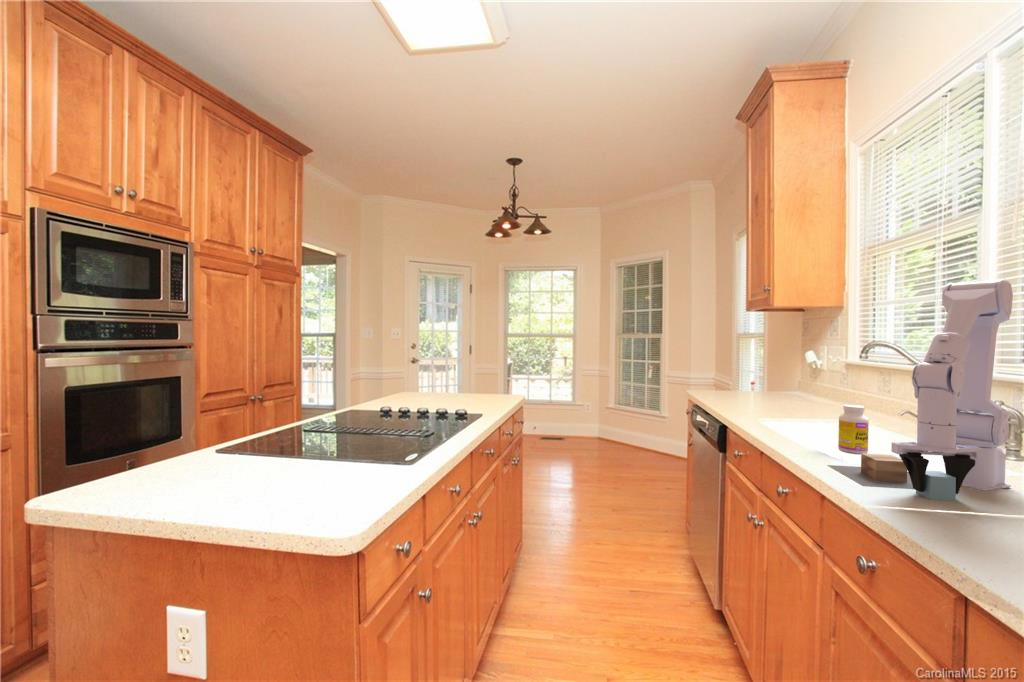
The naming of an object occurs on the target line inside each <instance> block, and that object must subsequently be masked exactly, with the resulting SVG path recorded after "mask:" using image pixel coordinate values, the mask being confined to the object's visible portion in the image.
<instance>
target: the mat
mask: <svg viewBox="0 0 1024 682" xmlns="http://www.w3.org/2000/svg"><path fill="white" fill-rule="evenodd" d="M826 466H828V467H829V468H831V469H833V470H834V471H836V472H838V473H840V474H842V475H843V476H845V477H847V478H848V479H850V480H852V481H853V482H855V483H857V484H859V485H860V486H862V487H871V488H872V487H873V488H888V489H891V488H892V489H906V490H914V489H913V485H912V481H911V478H910V475H909V473H908V471H907V482H900V481H882V480H875V479H873V478H871V477H869V476H867V475H865V474H863V473H861V466H855V465H854V466H851V465H830V464H827V465H826Z"/></svg>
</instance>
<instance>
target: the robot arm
mask: <svg viewBox="0 0 1024 682" xmlns="http://www.w3.org/2000/svg"><path fill="white" fill-rule="evenodd" d="M1013 296H1014V294H1013V287H1012V285H1011V282H1009V281H1008V280H1007V279H1005V278H1002V279H1001V278H1000V279H999V280H998V279H996V280H984V281H970V282H956V283H954V282H949V283H947V284H946V285H945V286H944V287H943V290H942V294H941V300H942V301H941V302H942V305H943V307H944V308H945V311H946V313H947V315H946V318H945V324H944V327H943V330H942V333H939V334H936V335H935V336H934V337H933V338H932V340H931V342H930V346H929V348H928V350H927V352H926V355H925V357H924V360H922V361H923V362H921V363H919V364H915V366H914V367H913V369H912V373H911V374H912V375H911V383H912V386H913V391H914V398H915V399H917V416H916V417H917V421H916V422H917V423H916V428H917V429H916V441H909V442H905V441H903V442H902V441H901V442H895V441H894V442H891V449H890V450H891V452H892V453H894V454H897V455H898V456H899V459H902V461H903V462H904V464H905V466H906V468H907V472H908V473H909V475H910V478H911V481H912V485H913V489H912V490H915V491H916V490H917V491H919V492H924V489H925V473H926V471H927V468H928V465H929V462H930V460H928V459H926V458H925V457H924V456H925V455H929V456H942V459H943V463H944V469H945V474H948V475H950V476H953V477H955V478H956V495H959V492H960V489H961V487H962V486H964V487H968V488H971V489H975V490H981V491H992V490H996V489H1005V488H1011V486H1012V485H1011V484H1009V483H1006V455H1005V453H1004V451H1003V450H1002V448H1001V446H1003V445H1004V444H1006V443H1007V442H1008V439H1009V435H1010V424H1009V414H1008V412H1007V410H1006V409H1005V408H1004V407H1003V406H1001V405H999V404H998V403H996V402H994V401H993V400H992V399H991V398H992V397H991V396H992V385H993V377H994V365H995V354H996V345H997V334H998V331H999V327H1000V324H1003V323H1005V322H1007V321H1009V320H1010V318H1011V314H1012V309H1013ZM958 393H959V396H958ZM981 413H982V414H981ZM923 455H924V456H923Z"/></svg>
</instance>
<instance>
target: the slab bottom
mask: <svg viewBox="0 0 1024 682" xmlns="http://www.w3.org/2000/svg"><path fill="white" fill-rule="evenodd" d="M860 467H861V473H863V474H865V475H867V476H869V477H871V478H873V479H875V480H882V481H900V482H907V472H908V471H907V472H901V471H882V470H875V469H873V468H871V467H869V466H867V465H865V464H862V463H861V462H860Z"/></svg>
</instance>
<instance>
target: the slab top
mask: <svg viewBox="0 0 1024 682" xmlns="http://www.w3.org/2000/svg"><path fill="white" fill-rule="evenodd" d="M861 463H862V464H865V465H867V466H869V467H871V468H873V469H875V470H882V471H901V472H908V470H907V468H906V466H905V464H904V462H903V461H902V459H901V458H900V457H896V456H894V455H892V454H881V453H880V454H878V453H867V454H863V453H861V456H860V464H861Z"/></svg>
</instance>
